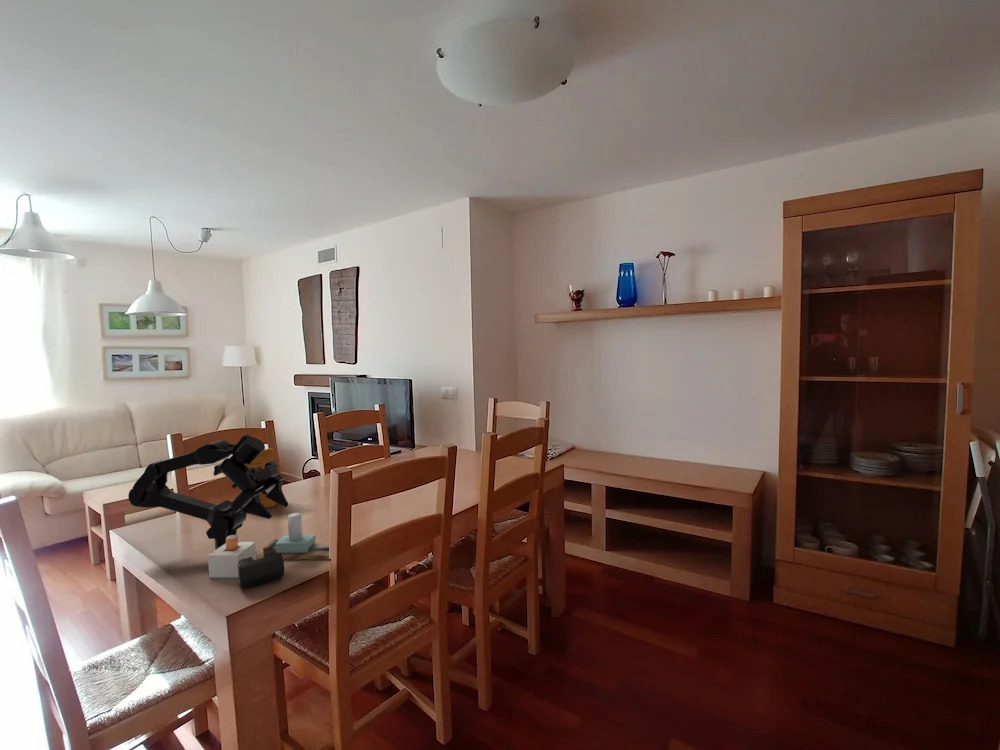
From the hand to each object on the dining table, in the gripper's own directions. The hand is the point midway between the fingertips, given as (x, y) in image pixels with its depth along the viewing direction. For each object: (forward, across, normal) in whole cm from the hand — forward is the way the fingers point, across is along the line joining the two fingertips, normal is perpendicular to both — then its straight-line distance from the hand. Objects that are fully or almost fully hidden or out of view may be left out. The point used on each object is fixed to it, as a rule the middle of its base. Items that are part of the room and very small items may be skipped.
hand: (279, 511), depth 134 cm
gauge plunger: (-1, -11, +10) cm, 15 cm away
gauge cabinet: (+4, -11, +14) cm, 18 cm away
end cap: (+12, -17, +7) cm, 21 cm away
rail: (+14, 0, +4) cm, 14 cm away
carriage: (+11, 0, +5) cm, 12 cm away
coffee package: (-12, +39, +30) cm, 51 cm away
